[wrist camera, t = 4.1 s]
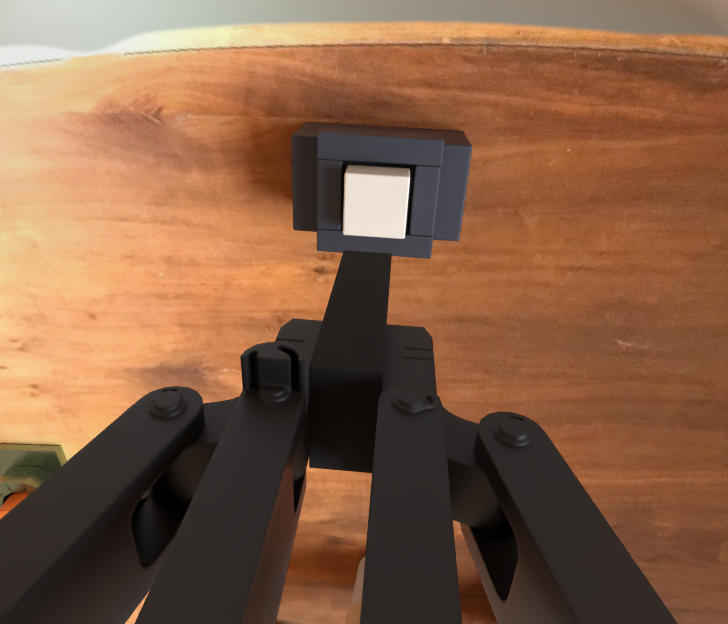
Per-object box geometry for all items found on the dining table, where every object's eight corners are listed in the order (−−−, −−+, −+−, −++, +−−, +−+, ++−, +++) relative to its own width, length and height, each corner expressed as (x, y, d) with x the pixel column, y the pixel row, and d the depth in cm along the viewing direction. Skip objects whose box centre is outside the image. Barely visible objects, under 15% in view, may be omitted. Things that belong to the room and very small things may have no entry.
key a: (346, 223, 27) (342, 235, 25) (348, 164, 25) (344, 172, 24) (404, 227, 26) (404, 239, 25) (409, 167, 25) (410, 176, 23)
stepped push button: (306, 213, 32) (287, 249, 27) (305, 113, 29) (283, 130, 24) (451, 223, 32) (460, 261, 27) (464, 122, 29) (478, 142, 24)
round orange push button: (2, 490, 43) (-15, 510, 41) (43, 491, 43) (28, 512, 41) (17, 520, 45) (1, 540, 43) (57, 521, 45) (42, 542, 43)
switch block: (-11, 443, 44) (-33, 464, 42) (63, 445, 43) (45, 467, 41) (28, 524, 48) (11, 548, 46) (95, 527, 48) (81, 551, 46)
